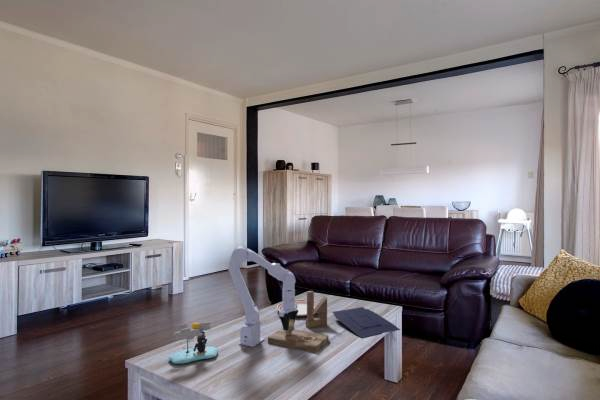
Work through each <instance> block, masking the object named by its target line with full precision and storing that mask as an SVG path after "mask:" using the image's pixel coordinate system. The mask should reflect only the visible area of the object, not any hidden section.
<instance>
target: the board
mask: <svg viewBox="0 0 600 400" xmlns="http://www.w3.org/2000/svg"><path fill="white" fill-rule="evenodd" d="M328 342H329V335H327V334H322V333H318V332H317V333H315V332H312V331H311V332H310V331H304V330H299V329H294V330H293V331H292V333H291V335H290V336H287V335H286V333H285V331H284V330H283V327H281V328H279V329H278V330H276V331H275V332H274V333H271V334H270V335H269V336H268V337H267V343H268V344H273V345H279V346H283V347H286V348H287V347H288V348H294V349H297V350H302V351H306V352H313V353H317V352H318V351H319V350H320V349H322V348H323V347H324V346H325V345H326V344H327V343H328Z"/></svg>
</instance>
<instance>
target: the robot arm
mask: <svg viewBox="0 0 600 400" xmlns="http://www.w3.org/2000/svg"><path fill="white" fill-rule="evenodd" d="M245 262H254V263H256V264H257V265H259V266H260V267H262V268H264V269H266V270H267V273H268V274H269V275H270V276H272V277H273V278H275V279H276V280H278V281H280V282H282V302H283V307H282V309H281V311H278V317H279V319H280V322H281V325H282V328H283V329H284V330H288V328H289V320H290V319H293V320H294V324H295V322H296V318H297V317H298V316H297V313H298V310H297V304H295V300H296V289H295V286H296V285H295V284H296V281H297V280H296V276H295V275H294V273H293V272H292V271H290V270H289V269H286V268H284V267H283V266H281V263H279V262H278V263H276V262H272V263H271V262H270V261H268V260H267V259H265V258H264V257H263V256H261V255H260V254H259V253H256V251H253V250H252V249H250V248H247V247H246V246H244V245H237V246H236V247H235V248H234V249H233V251H232V253H231V255H230V260H229V264H228V268H227V269H228V273H229V274H230V277H231V279H232V282H233V285H234V288H235V289H236V292H237V295H238V297H239V299H240V301H241V303H242V304H241V305H242V306H243V311H244V314H245V315H244V318H245V320H244V324H243V325H242V327H241V328H240V331H239V334H240V335H239V338H240V339H239V340H240V341H239V342H238V344H239V345H241V346H247V347H253V348H254V347H256V346H257V345H258V344H260V343H261V342H263V341H264V340H265V338H263V337H261V320H260V308H259V307H258V305H256V303H255V302H254V300H253V299H252V296H251V294H250V291H249V289H248V287H247V284H246V281H245V279H244V276H243V274H242V271H241V269H240V268H241V267H242V264H243V263H245Z"/></svg>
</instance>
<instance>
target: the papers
mask: <svg viewBox="0 0 600 400" xmlns="http://www.w3.org/2000/svg"><path fill="white" fill-rule="evenodd" d="M331 313H332V315H333V317H335V319H336V320H338V321H340V323H342V324H343V325H345V326H346V327H347V328H349V329H350V330H351V332H353V333H354V334H356V336H358V337H359V338H361V339H362V338H366V337H370V336H374V335H379V334H385V333H391V332H396V331H397V332H398V331H401V329H400V328H399V327H397V325H394V324H393V323H392V322H390V321H389V320H387V319H385V318H384V317H383V316H381V315H380V314H378V313H376V312H375V311H373V310H370V309H368V308H365V307H363V306H361V307H355V308H349V309H348V308H347V309H342V310H335V311H331Z"/></svg>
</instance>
